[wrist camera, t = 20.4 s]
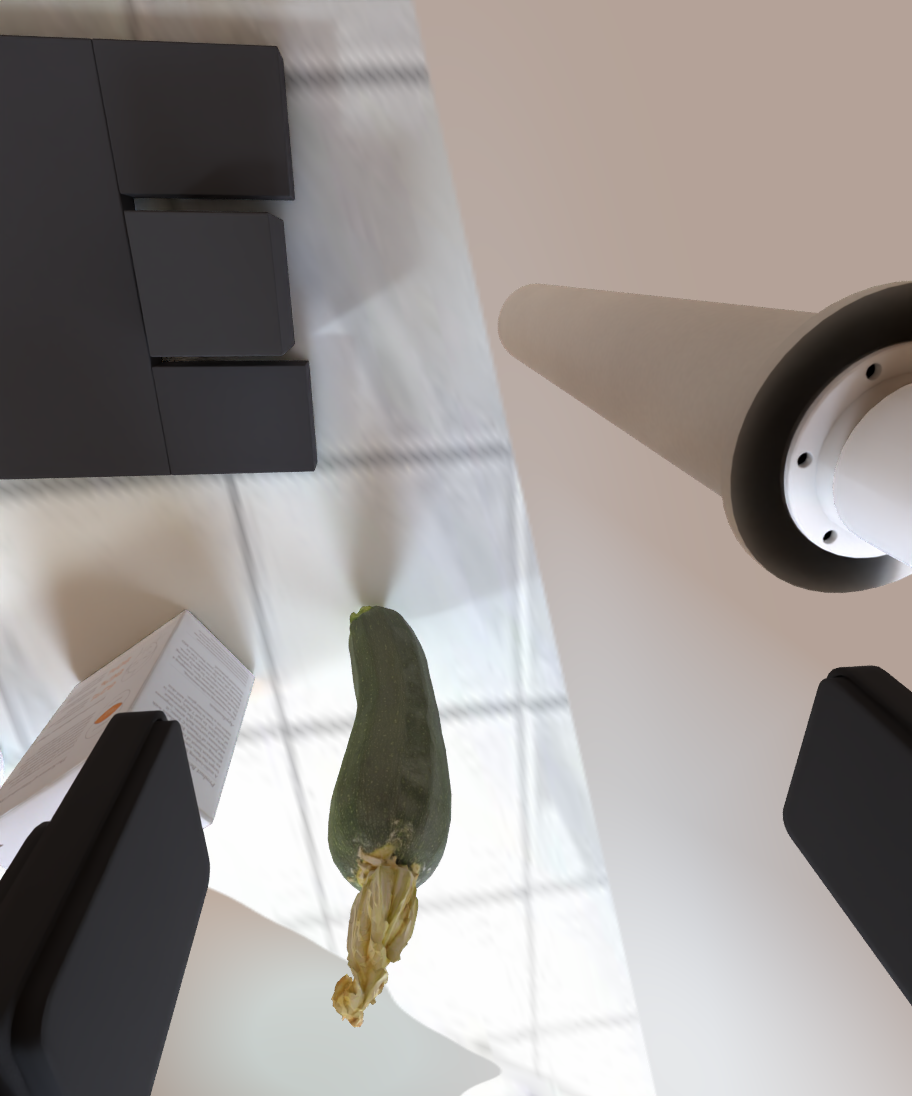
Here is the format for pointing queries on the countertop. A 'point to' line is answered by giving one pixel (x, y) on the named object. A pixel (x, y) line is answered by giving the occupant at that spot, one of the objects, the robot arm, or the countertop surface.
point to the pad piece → (212, 282)
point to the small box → (130, 686)
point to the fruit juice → (1, 768)
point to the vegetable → (387, 800)
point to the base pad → (130, 258)
